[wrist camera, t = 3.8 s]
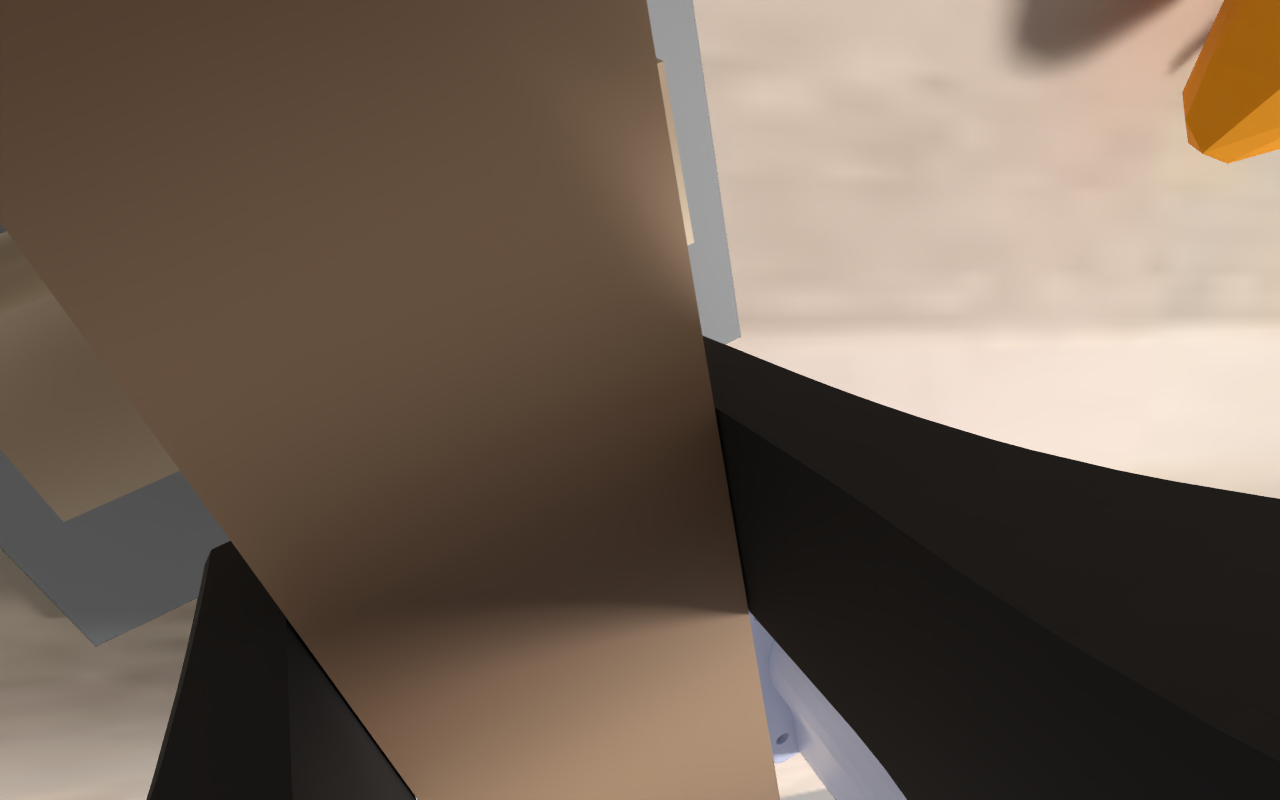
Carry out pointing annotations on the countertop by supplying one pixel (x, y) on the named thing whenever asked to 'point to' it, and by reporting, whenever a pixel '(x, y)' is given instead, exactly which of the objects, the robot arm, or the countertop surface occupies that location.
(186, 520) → the board
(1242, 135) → the corn
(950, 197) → the countertop surface
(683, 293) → the brown wooden block
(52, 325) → the ridge
